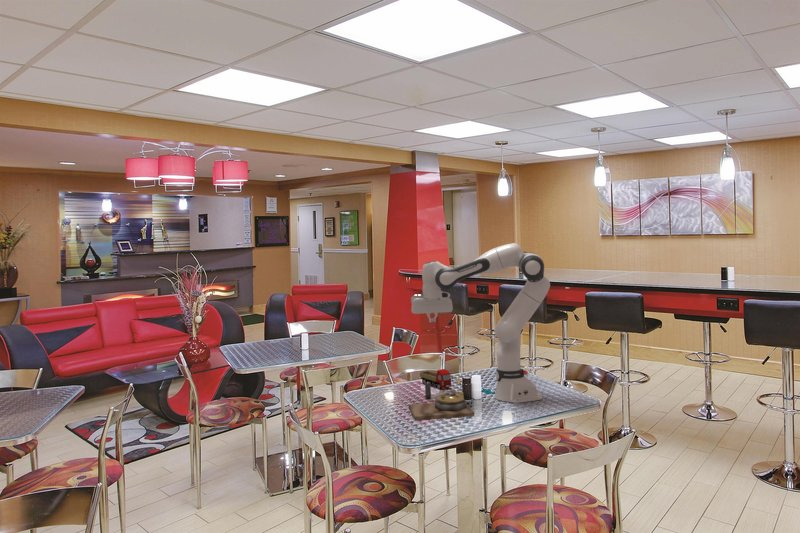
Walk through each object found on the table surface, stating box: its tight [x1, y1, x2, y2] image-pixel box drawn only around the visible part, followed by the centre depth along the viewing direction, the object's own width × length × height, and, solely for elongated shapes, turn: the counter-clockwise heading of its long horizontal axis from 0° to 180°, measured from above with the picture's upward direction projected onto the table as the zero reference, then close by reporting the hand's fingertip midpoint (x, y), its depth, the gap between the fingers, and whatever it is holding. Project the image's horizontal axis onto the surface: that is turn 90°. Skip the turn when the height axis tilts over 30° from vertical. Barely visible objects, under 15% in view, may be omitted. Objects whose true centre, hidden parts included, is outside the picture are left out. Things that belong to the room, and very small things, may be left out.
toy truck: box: [419, 368, 454, 391], centre depth 280 cm, size 7×21×10 cm, turn 33°
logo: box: [453, 378, 496, 395], centre depth 278 cm, size 34×1×10 cm
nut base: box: [408, 398, 475, 421], centre depth 236 cm, size 26×18×4 cm
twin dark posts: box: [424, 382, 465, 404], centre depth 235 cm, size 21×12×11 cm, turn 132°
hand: (432, 322), depth 258 cm, fingers closed
